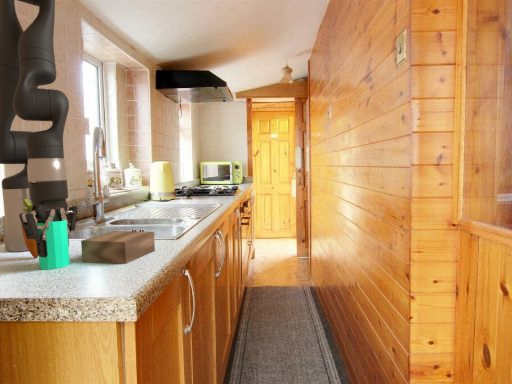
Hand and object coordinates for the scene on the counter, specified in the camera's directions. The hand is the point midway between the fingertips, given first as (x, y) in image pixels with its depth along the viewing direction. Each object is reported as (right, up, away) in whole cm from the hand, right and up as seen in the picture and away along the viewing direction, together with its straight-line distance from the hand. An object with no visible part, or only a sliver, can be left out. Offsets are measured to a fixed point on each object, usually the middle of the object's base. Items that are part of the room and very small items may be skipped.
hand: (54, 253), depth 79 cm
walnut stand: (+12, -2, +7) cm, 14 cm away
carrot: (-9, -3, +8) cm, 12 cm away
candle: (0, -3, 0) cm, 3 cm away
